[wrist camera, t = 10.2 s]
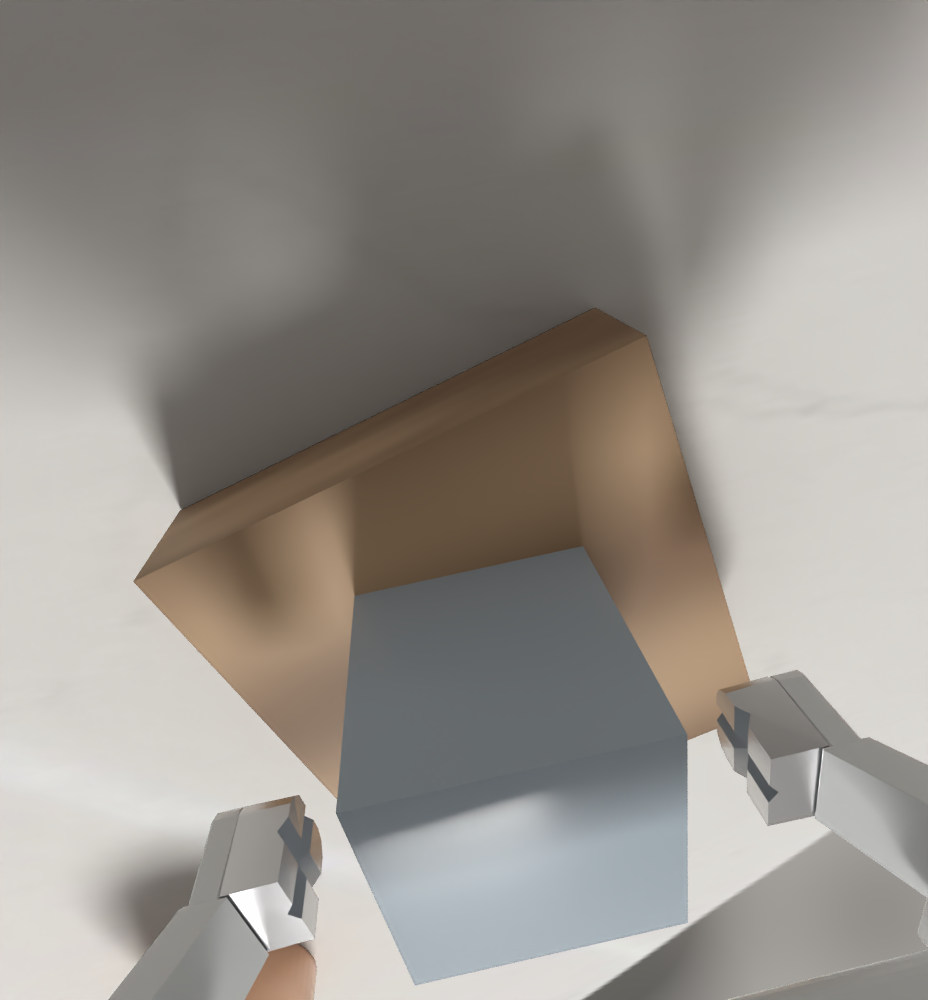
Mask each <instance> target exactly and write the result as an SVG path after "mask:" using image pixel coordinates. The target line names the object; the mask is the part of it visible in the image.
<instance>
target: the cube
mask: <svg viewBox="0 0 928 1000" xmlns="http://www.w3.org/2000/svg"><path fill="white" fill-rule="evenodd" d="M336 814H337V817H338V819H339V821H340V823H341V825H342V827H343V830H344V832H345V834H346V836H347V838H348V840H349V843H350V845H351V847H352V849H353V851H354V854H355V856H356V858H357V860H358V862H359V864H360V867H361V869H362V871H363V873H364V875H365V878H366V880H367V882H368V884H369V886H370V888H371V891H372V893H373V895H374V897H375V899H376V901H377V904H378V906H379V908H380V910H381V912H382V915H383V917H384V919H385V921H386V923H387V925H388V928H389V930H390V932H391V934H392V936H393V939H394V941H395V943H396V945H397V947H398V949H399V952H400V954H401V956H402V958H403V960H404V963H405V965H406V967H407V969H408V971H409V973H410V976H411V978H412V980H413V982H414V984H415V985H419V984H423V983H428V982H432V981H436V980H441V979H445V978H449V977H454V976H458V975H463V974H467V973H471V972H476V971H480V970H484V969H489V968H493V967H497V966H502V965H506V964H510V963H515V962H519V961H524V960H528V959H532V958H537V957H541V956H545V955H550V954H554V953H558V952H563V951H567V950H571V949H576V948H580V947H585V946H589V945H593V944H598V943H602V942H606V941H611V940H615V939H619V938H624V937H628V936H632V935H637V934H641V933H646V932H650V931H654V930H659V929H663V928H667V927H672V926H676V925H680V924H685V923H688V877H687V733H686V731H685V729H684V727H683V726H682V724H681V722H680V720H679V718H678V717H677V715H676V713H675V711H674V709H673V708H672V706H671V704H670V702H669V700H668V699H667V697H666V695H665V693H664V691H663V690H662V688H661V686H660V684H659V682H658V681H657V679H656V677H655V675H654V673H653V672H652V670H651V668H650V666H649V664H648V663H647V661H646V659H645V657H644V655H643V654H642V652H641V650H640V648H639V646H638V644H637V643H636V641H635V639H634V637H633V635H632V634H631V632H630V630H629V628H628V626H627V625H626V623H625V621H624V619H623V617H622V616H621V614H620V612H619V610H618V608H617V607H616V605H615V603H614V601H613V599H612V598H611V596H610V594H609V592H608V590H607V589H606V587H605V585H604V583H603V581H602V580H601V578H600V576H599V574H598V572H597V571H596V569H595V567H594V565H593V563H592V561H591V560H590V558H589V556H588V554H587V552H586V551H585V549H584V547H583V546H581V547H576V548H571V549H567V550H562V551H558V552H553V553H549V554H544V555H539V556H535V557H530V558H526V559H521V560H517V561H512V562H507V563H503V564H498V565H494V566H489V567H484V568H480V569H475V570H471V571H466V572H462V573H457V574H452V575H448V576H443V577H439V578H434V579H430V580H425V581H420V582H416V583H411V584H407V585H402V586H397V587H393V588H388V589H384V590H379V591H375V592H370V593H365V594H361V595H356V596H354V607H353V618H352V630H351V642H350V654H349V666H348V677H347V689H346V701H345V713H344V725H343V736H342V748H341V760H340V772H339V784H338V795H337V807H336Z"/></svg>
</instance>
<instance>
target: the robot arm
mask: <svg viewBox="0 0 928 1000" xmlns="http://www.w3.org/2000/svg"><path fill="white" fill-rule="evenodd" d="M716 704H717V705H718V707H719V708H720V710H721V712H722V714H721V715H720V716H719V718H718V719H717V733H718V736H719V740H720V743H721V747H722V749H723V751H724V753H725V756H726V758H727V760H728V761H729V763H730V765H731V766H732V768H733V770H734V771H735V772H737V773H739V774H741V775H742V776H744V777H746V778H747V793H748V795H749V796H750V798H751V800H752V801H753V803H754V804H755V806H756V808H757V809H758V811H759V813H760V814H761V816H762V818H763V819H764V821H765V822H766V824H767V826H770V825H774V824H779V823H784V822H788V821H793V820H797V819H802V818H807V817H811V816H815V819H816V820H818V821H819V822H821V823H822V824H824V825H825V826H826V827H828V828H829V829H831V830H832V831H833V832H835V833H836V834H838V835H839V836H840V837H842V838H843V839H845V840H846V841H848V842H849V843H851V844H852V845H853V846H855V847H856V848H858V849H859V850H860V851H862V852H863V853H864V854H866V855H867V856H869V857H870V858H872V859H873V860H874V861H876V862H877V863H879V864H880V865H882V866H883V867H885V868H886V869H887V870H888V871H890V872H891V873H893V874H894V875H896V876H897V877H898V878H900V879H901V880H903V881H904V882H906V883H907V884H909V885H910V886H911V887H913V888H914V889H915V890H917V891H918V892H920V893H921V894H922V895H924V896H925V897H927V899H926V903H925V906H924V910H923V913H922V917H921V920H920V924H919V929H918V933H917V934H918V936H919V937H920V938H921V940H922V941H923V943H924V944H925V945H926V947H927V948H928V765H927V764H924V763H922V762H920V761H918V760H916V759H914V758H912V757H910V756H908V755H906V754H903V753H901V752H899V751H897V750H895V749H893V748H891V747H889V746H887V745H885V744H882V743H880V742H878V741H876V740H874V739H872V738H870V737H868V738H863V739H861V738H860V737H859V736H858V735H857V734H856V733H855V732H854V730H853V729H852V728H851V727H850V726H849V725H848V724H847V722H846V721H845V720H844V719H843V718H842V717H841V716H840V715H839V713H838V712H837V711H836V710H835V709H834V708H833V707H832V705H831V704H830V703H829V702H828V701H827V700H826V699H825V698H824V696H823V695H822V694H821V693H820V692H819V691H818V690H817V689H816V687H815V686H814V685H813V684H812V683H811V682H810V681H809V679H808V678H807V677H806V676H805V675H804V674H803V673H801V672H800V671H798V670H795V671H790V672H786V673H783V674H779V675H775V676H771V677H764V678H760V679H757V680H753V681H749V682H745V683H741V684H738V685H734V686H730V687H726V688H723V689H719V690H718V692H717V694H716ZM304 814H305V804H304V802H303V801H302V799H301V798H300V796H299V795H297V796H292V797H288V798H283V799H279V800H274V801H269V802H265V803H260V804H256V805H251V806H247V807H242V808H238V809H234V810H230V811H225V812H221V813H218V814H217V816H216V817H215V819H214V820H213V822H212V824H211V827H210V831H209V834H208V838H207V841H206V845H205V848H204V852H203V855H202V859H201V862H200V866H199V869H198V873H197V876H196V880H195V883H194V887H193V891H192V894H191V898H190V901H189V905H188V906H187V907H183V908H180V909H179V910H178V912H177V913H176V914H175V915H174V917H173V918H172V919H171V921H170V922H169V923H168V924H167V926H166V927H165V928H164V929H163V931H162V932H161V933H160V935H159V936H158V937H157V938H156V940H155V941H154V942H153V944H152V945H151V946H150V947H149V949H148V950H147V951H146V952H145V954H144V955H143V956H142V958H141V959H140V960H139V961H138V963H137V964H136V965H135V966H134V968H133V969H132V970H131V972H130V973H129V974H128V975H127V977H126V978H125V979H124V980H123V982H122V983H121V984H120V986H119V987H118V988H117V989H116V991H115V992H114V993H113V994H112V996H111V997H110V998H109V1000H245V998H246V996H247V995H248V993H249V991H250V989H251V987H252V985H253V983H254V982H255V980H256V978H257V976H258V974H259V972H260V970H261V969H262V967H263V965H264V963H265V961H266V959H267V957H268V956H269V954H268V952H269V951H272V950H276V949H280V948H283V947H287V946H290V945H294V944H297V943H301V942H304V941H308V940H312V939H315V929H316V919H317V910H318V900H319V899H318V897H317V895H316V893H315V892H314V890H313V888H312V887H313V885H314V884H315V882H316V880H317V879H318V877H319V876H320V874H321V869H322V845H321V838H320V834H319V831H318V828H317V826H316V824H315V822H314V820H312V819H310V818H308V817H305V816H304ZM727 1000H928V950H924V951H920V952H916V953H912V954H908V955H904V956H900V957H896V958H892V959H888V960H884V961H880V962H876V963H871V964H868V965H864V966H859V967H855V968H851V969H848V970H843V971H840V972H836V973H832V974H828V975H824V976H819V977H815V978H811V979H807V980H803V981H799V982H795V983H791V984H787V985H784V986H779V987H775V988H771V989H767V990H763V991H759V992H755V993H751V994H747V995H743V996H739V997H735V998H731V999H727Z"/></svg>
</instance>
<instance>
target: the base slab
mask: <svg viewBox="0 0 928 1000" xmlns="http://www.w3.org/2000/svg"><path fill="white" fill-rule="evenodd" d="M581 546H583V547H584V549H585V551H586V552H587V554H588V556H589V558H590V560H591V561H592V563H593V565H594V567H595V569H596V571H597V572H598V574H599V576H600V578H601V580H602V581H603V583H604V585H605V587H606V589H607V590H608V592H609V594H610V596H611V598H612V599H613V601H614V603H615V605H616V607H617V608H618V610H619V612H620V614H621V616H622V617H623V619H624V621H625V623H626V625H627V626H628V628H629V630H630V632H631V634H632V635H633V637H634V639H635V641H636V643H637V644H638V646H639V648H640V650H641V652H642V654H643V655H644V657H645V659H646V661H647V663H648V664H649V666H650V668H651V670H652V672H653V673H654V675H655V677H656V679H657V681H658V682H659V684H660V686H661V688H662V690H663V691H664V693H665V695H666V697H667V699H668V700H669V702H670V704H671V706H672V708H673V709H674V711H675V713H676V715H677V717H678V718H679V720H680V722H681V724H682V726H683V727H684V729H685V731H686V733H687V740H689V739H692V738H694V737H697V736H699V735H702V734H704V733H707V732H709V731H712V730H714V729H717V719H718V718H719V716H720V715H721V714H722V712H721V710H720V708H719V707H718V705H717V704H716V694H717V692H718V690H719V689H723V688H726V687H730V686H734V685H738V684H741V683H745V682H749V681H750V680H749V676H748V673H747V670H746V666H745V663H744V660H743V656H742V653H741V650H740V646H739V643H738V640H737V636H736V633H735V630H734V626H733V623H732V620H731V616H730V613H729V610H728V606H727V603H726V600H725V596H724V593H723V590H722V586H721V583H720V580H719V576H718V573H717V570H716V566H715V563H714V560H713V556H712V553H711V550H710V546H709V543H708V540H707V536H706V533H705V530H704V526H703V523H702V520H701V516H700V513H699V510H698V506H697V503H696V500H695V496H694V493H693V490H692V486H691V483H690V480H689V476H688V473H687V470H686V466H685V463H684V460H683V456H682V453H681V450H680V446H679V443H678V440H677V436H676V433H675V429H674V426H673V423H672V419H671V416H670V413H669V409H668V406H667V403H666V399H665V396H664V393H663V389H662V386H661V383H660V379H659V376H658V373H657V369H656V366H655V363H654V359H653V356H652V353H651V349H650V346H649V343H648V339H647V336H646V335H644V334H642V333H641V332H639V331H637V330H635V329H633V328H631V327H630V326H628V325H626V324H624V323H622V322H620V321H619V320H617V319H615V318H613V317H611V316H609V315H608V314H606V313H604V312H602V311H600V310H598V309H597V308H594V309H592V310H589V311H587V312H585V313H583V314H581V315H579V316H577V317H575V318H573V319H571V320H569V321H567V322H565V323H563V324H561V325H559V326H557V327H555V328H553V329H551V330H549V331H547V332H544V333H542V334H540V335H538V336H536V337H534V338H532V339H530V340H528V341H526V342H524V343H522V344H520V345H518V346H516V347H514V348H512V349H510V350H508V351H506V352H504V353H502V354H499V355H497V356H495V357H493V358H491V359H489V360H487V361H485V362H483V363H481V364H479V365H477V366H475V367H473V368H471V369H469V370H467V371H465V372H463V373H461V374H459V375H457V376H454V377H452V378H450V379H448V380H446V381H444V382H442V383H440V384H438V385H436V386H434V387H432V388H430V389H428V390H426V391H424V392H422V393H420V394H418V395H416V396H414V397H412V398H409V399H407V400H405V401H403V402H401V403H399V404H397V405H395V406H393V407H391V408H389V409H387V410H385V411H383V412H381V413H379V414H377V415H375V416H373V417H371V418H369V419H367V420H365V421H362V422H360V423H358V424H356V425H354V426H352V427H350V428H348V429H346V430H344V431H342V432H340V433H338V434H336V435H334V436H332V437H330V438H328V439H326V440H324V441H322V442H320V443H317V444H315V445H313V446H311V447H309V448H307V449H305V450H303V451H301V452H299V453H297V454H295V455H293V456H291V457H289V458H287V459H285V460H283V461H281V462H279V463H277V464H275V465H272V466H270V467H268V468H266V469H264V470H262V471H260V472H258V473H256V474H254V475H252V476H250V477H248V478H246V479H244V480H242V481H240V482H238V483H236V484H234V485H232V486H230V487H227V488H225V489H223V490H221V491H219V492H217V493H215V494H213V495H211V496H209V497H207V498H205V499H203V500H201V501H199V502H197V503H195V504H193V505H191V506H189V507H187V508H185V509H182V510H180V512H179V513H178V515H177V516H176V518H175V519H174V521H173V522H172V524H171V525H170V527H169V528H168V530H167V531H166V533H165V534H164V536H163V537H162V539H161V540H160V542H159V543H158V545H157V546H156V548H155V549H154V551H153V552H152V554H151V556H150V557H149V559H148V560H147V562H146V563H145V565H144V566H143V568H142V569H141V571H140V572H139V574H138V575H137V577H136V578H135V580H134V581H133V582H134V583H135V584H136V585H137V586H138V587H139V588H140V589H141V590H142V591H143V592H144V594H145V595H146V596H147V597H148V598H149V599H150V600H151V601H152V602H153V603H154V604H155V605H156V606H157V607H158V608H159V610H160V611H161V612H162V613H163V614H164V615H165V616H166V617H167V618H168V619H169V620H170V621H171V622H172V623H173V625H174V626H175V627H176V628H177V629H178V630H179V631H180V632H181V633H182V634H183V635H184V636H185V637H186V638H187V639H188V641H189V642H190V643H191V644H192V645H193V646H194V647H195V648H196V649H197V650H198V651H199V652H200V653H201V654H202V656H203V657H204V658H205V659H206V660H207V661H208V662H209V663H210V664H211V665H212V666H213V667H214V668H215V669H216V670H217V672H218V673H219V674H220V675H221V676H222V677H223V678H224V679H225V680H226V681H227V682H228V683H229V684H230V685H231V687H232V688H233V689H234V690H235V691H236V692H237V693H238V694H239V695H240V696H241V697H242V698H243V699H244V700H245V701H246V703H247V704H248V705H249V706H250V707H251V708H252V709H253V710H254V711H255V712H256V713H257V714H258V715H259V716H260V718H261V719H262V720H263V721H264V722H265V723H266V724H267V725H268V726H269V727H270V728H271V729H272V730H273V731H274V732H275V734H276V735H277V736H278V737H279V738H280V739H281V740H282V741H283V742H284V743H285V744H286V745H287V746H288V747H289V749H290V750H291V751H292V752H293V753H294V754H295V755H296V756H297V757H298V758H299V759H300V760H301V761H302V762H303V763H304V765H305V766H306V767H307V768H308V769H309V770H310V771H311V772H312V773H313V774H314V775H315V776H316V777H317V778H318V780H319V781H320V782H321V783H322V784H323V785H324V786H325V787H326V788H327V789H328V790H329V791H330V792H331V793H332V794H333V796H334V797H335V798H336V799H337V795H338V784H339V772H340V760H341V748H342V736H343V725H344V713H345V701H346V689H347V677H348V666H349V654H350V642H351V630H352V618H353V607H354V596H356V595H361V594H365V593H370V592H375V591H379V590H384V589H388V588H393V587H397V586H402V585H407V584H411V583H416V582H420V581H425V580H430V579H434V578H439V577H443V576H448V575H452V574H457V573H462V572H466V571H471V570H475V569H480V568H484V567H489V566H494V565H498V564H503V563H507V562H512V561H517V560H521V559H526V558H530V557H535V556H539V555H544V554H549V553H553V552H558V551H562V550H567V549H571V548H576V547H581Z"/></svg>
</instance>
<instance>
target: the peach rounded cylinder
mask: <svg viewBox="0 0 928 1000" xmlns="http://www.w3.org/2000/svg"><path fill="white" fill-rule="evenodd" d="M268 954H269V956H268V957H267V959H266V961H265V963H264V965H263V967H262V969H261V970H260V972H259V974H258V976H257V978H256V980H255V982H254V983H253V985H252V987H251V989H250V991H249V993H248V995H247V996H246V998H245V1000H314V994H315V983H316V963H315V960H314V959H313V957H312V956H311V954H310V953H309V952H308V951H307V950H305V949H304V948H303V947H301V946H299V945H298V944H294V945H290V946H287V947H283V948H280V949H276V950H272V951H269V952H268Z"/></svg>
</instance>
